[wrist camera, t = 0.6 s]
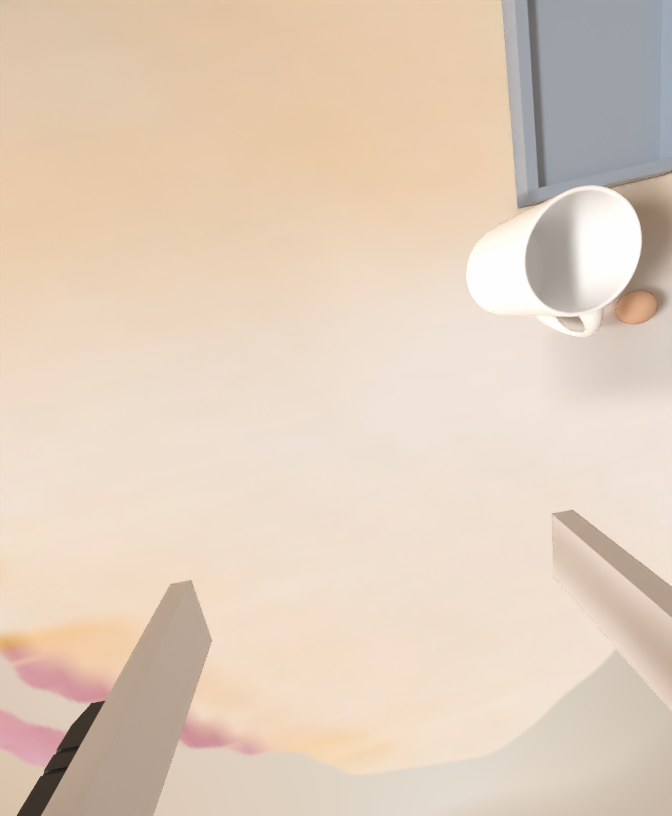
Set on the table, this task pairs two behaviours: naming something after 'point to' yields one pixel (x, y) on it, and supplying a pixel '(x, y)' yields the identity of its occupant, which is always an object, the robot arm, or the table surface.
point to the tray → (588, 93)
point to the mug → (559, 259)
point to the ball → (636, 307)
